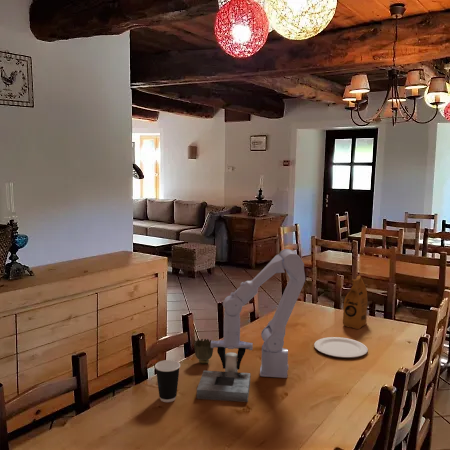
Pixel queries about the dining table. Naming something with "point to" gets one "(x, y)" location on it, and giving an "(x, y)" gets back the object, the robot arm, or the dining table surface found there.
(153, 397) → the dining table surface
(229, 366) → the white rounded cylinder
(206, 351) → the cup
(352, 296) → the coffee package
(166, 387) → the dixie cup
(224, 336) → the robot arm
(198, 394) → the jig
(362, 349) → the plate
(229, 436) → the dining table surface
